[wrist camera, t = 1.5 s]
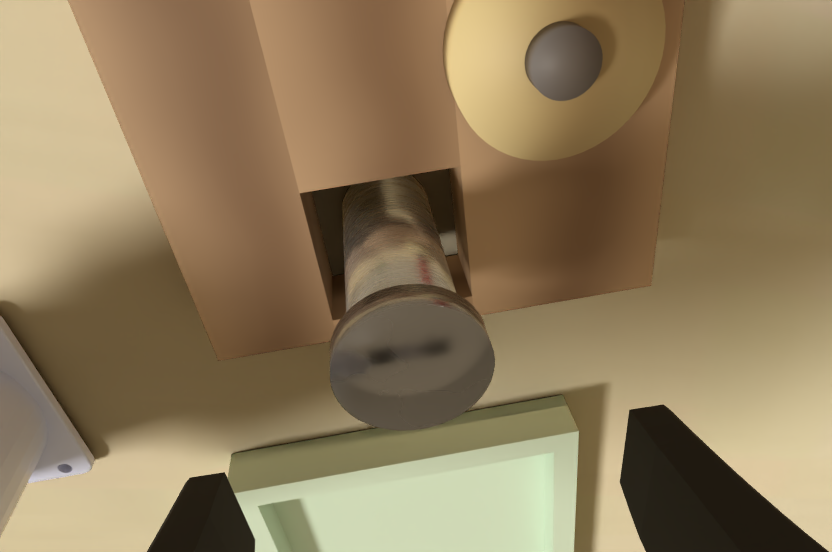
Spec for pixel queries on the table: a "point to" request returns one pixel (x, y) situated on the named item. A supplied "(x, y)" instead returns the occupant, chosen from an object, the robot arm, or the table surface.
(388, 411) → the pin
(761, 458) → the table surface
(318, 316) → the tensioner block
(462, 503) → the tray
